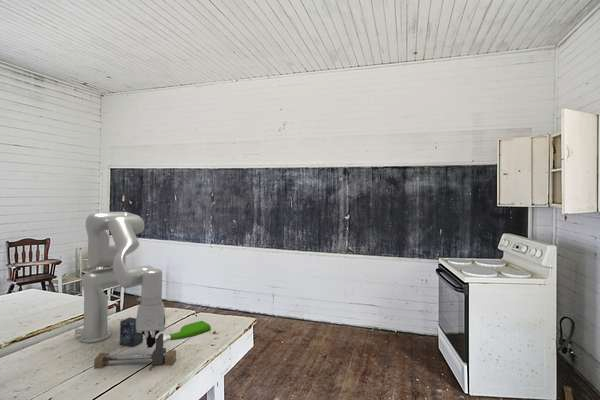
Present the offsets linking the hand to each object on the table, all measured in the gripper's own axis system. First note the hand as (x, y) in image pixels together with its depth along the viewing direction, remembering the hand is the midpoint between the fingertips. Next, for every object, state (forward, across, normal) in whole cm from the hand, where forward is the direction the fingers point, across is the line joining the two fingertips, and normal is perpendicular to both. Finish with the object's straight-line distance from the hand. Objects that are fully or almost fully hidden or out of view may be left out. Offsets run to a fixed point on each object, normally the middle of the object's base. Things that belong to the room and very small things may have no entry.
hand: (150, 346), depth 128 cm
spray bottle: (+7, +7, +28) cm, 29 cm away
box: (+7, -14, +19) cm, 25 cm away
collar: (+7, +3, 0) cm, 7 cm away
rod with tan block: (+7, -5, 0) cm, 8 cm away
